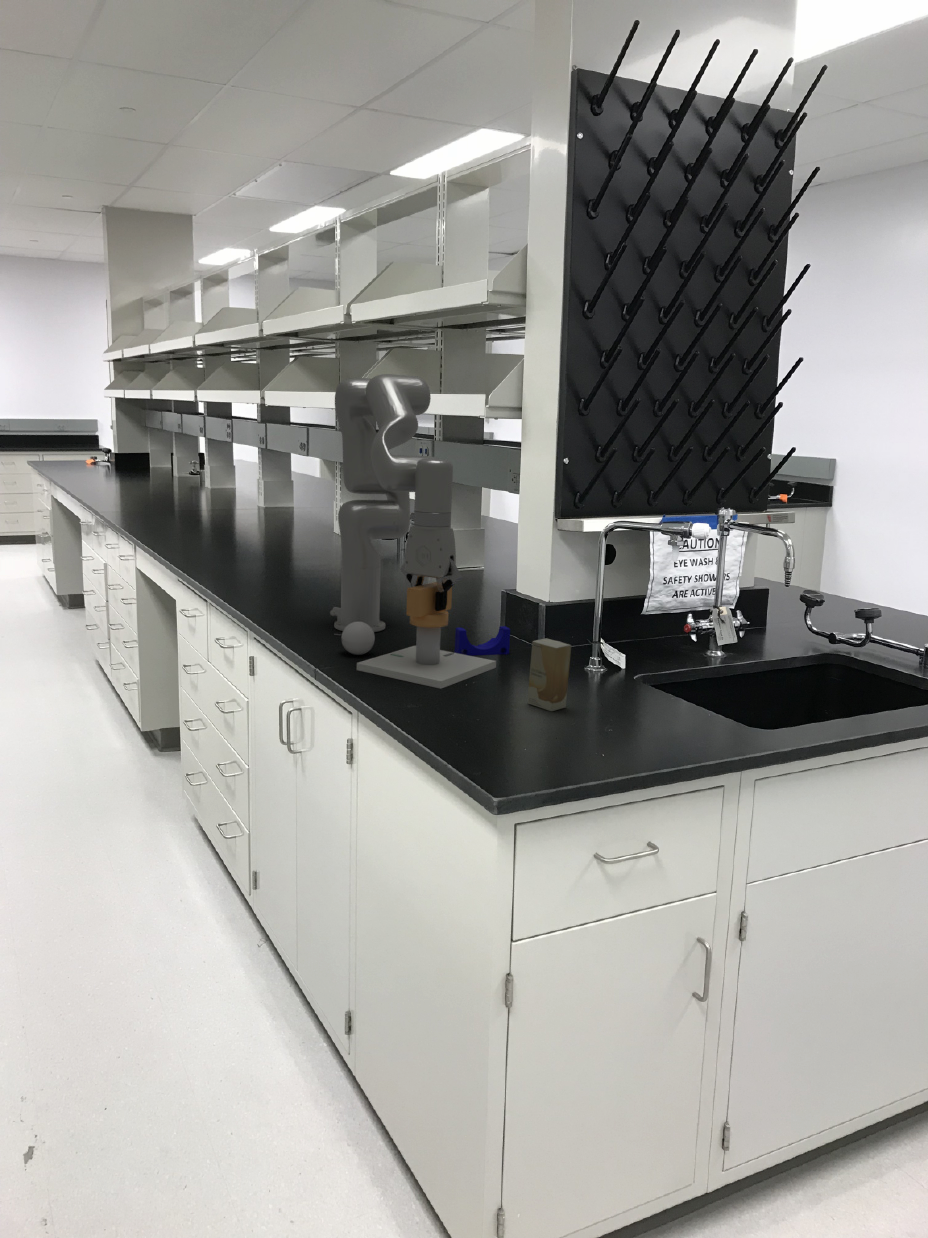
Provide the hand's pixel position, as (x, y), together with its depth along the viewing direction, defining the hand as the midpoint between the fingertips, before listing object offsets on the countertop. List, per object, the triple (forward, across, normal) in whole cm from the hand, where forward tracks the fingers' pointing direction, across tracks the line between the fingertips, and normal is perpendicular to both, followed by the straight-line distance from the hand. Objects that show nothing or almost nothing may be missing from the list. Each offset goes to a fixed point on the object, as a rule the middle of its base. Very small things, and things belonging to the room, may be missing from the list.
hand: (429, 607), depth 194 cm
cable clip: (+14, +1, +20) cm, 24 cm away
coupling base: (+13, 0, 0) cm, 13 cm away
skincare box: (+13, +32, -7) cm, 35 cm away
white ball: (+13, -20, 0) cm, 24 cm away
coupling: (+3, 0, 0) cm, 3 cm away
